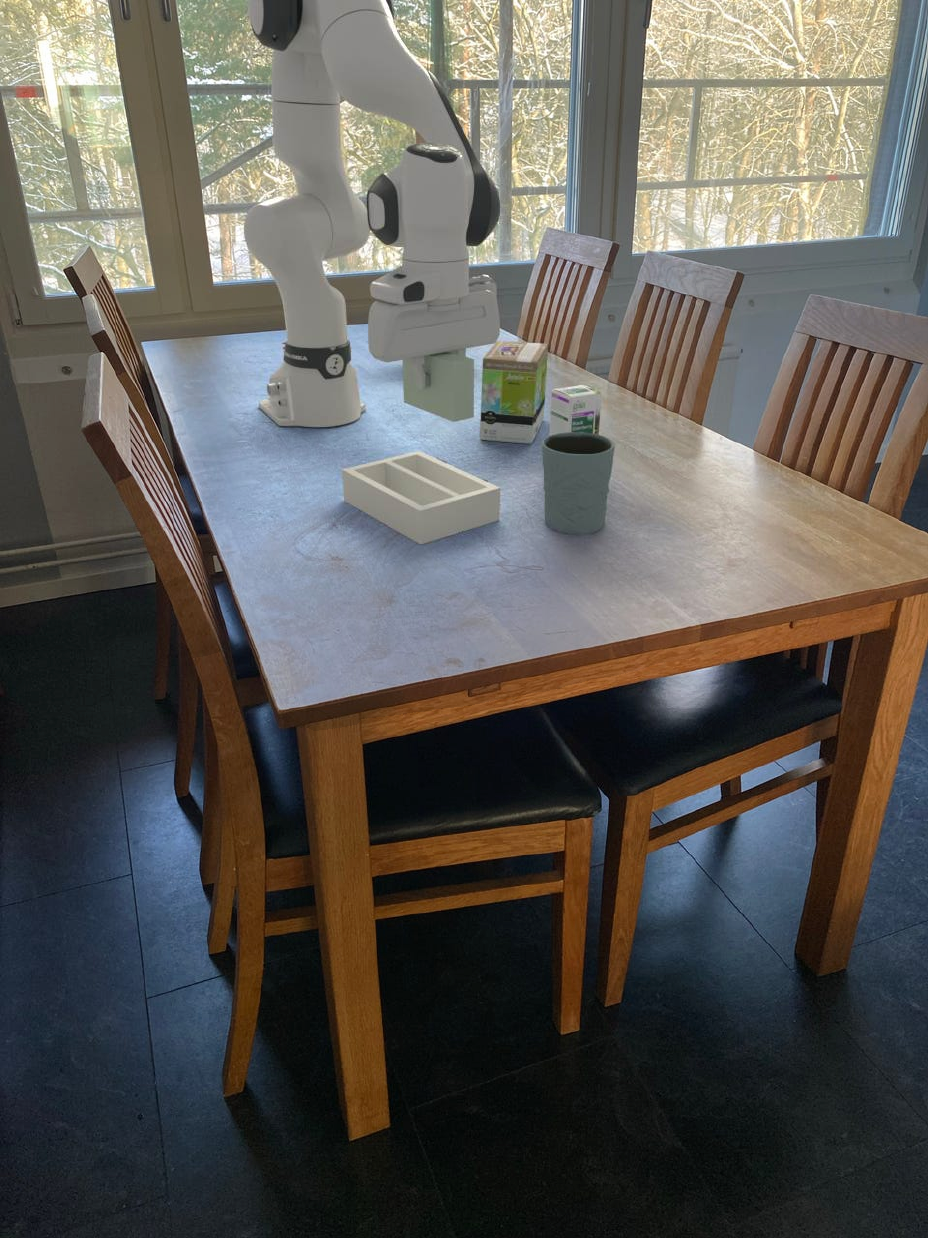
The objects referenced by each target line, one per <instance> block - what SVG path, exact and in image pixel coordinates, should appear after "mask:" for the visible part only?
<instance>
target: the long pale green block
mask: <svg viewBox="0 0 928 1238" xmlns="http://www.w3.org/2000/svg"><path fill="white" fill-rule="evenodd" d="M421 366H422V368H423V370H424V372H425V373H426V374H430V375H431V380H430V382H431V386H430V387H427V388H422V389H420V388H418V387H416V385H415V374H414V373H413V371H412V369H411V368H410V366H409V364H408V363H407V359H405V360H402V385H403V403H404V404H406V405H409V406H412V407H414V408H417V409H419V410H423V411H424V412H427V413H428V414H429V413H430V414H432V415H435V416H438V417H440V418H442V419H446V420H447V421H450V422H453V423H455V422H456V423H457V422H459V421H463V420H464V421H465V420H468V419H472V418H474V417H475V414H474V413H475V410H474V409H475V405H474V404H475V359H474V358H471V357H468V356H466V357H465V356H462V355H458V354H455V353H452V352H444V353H438V354H432V355H427V356H424V364H421Z"/></svg>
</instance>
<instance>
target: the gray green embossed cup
mask: <svg viewBox="0 0 928 1238" xmlns="http://www.w3.org/2000/svg"><path fill="white" fill-rule="evenodd" d="M615 448H616V443H615V442H614V441H613V440H611V439H610V438H609V437H608V436H607V437H606V436H604V435H600V434H599V435H597V434H591V433H582V432H568V433H559V434H554V435H551V436H547V437H544V439H543V440H542V441H541V454H542V455H541V456H542V457H541V458H542V468H543V491H544V495H543V496H544V523H545V525H546V527H547V528H549V529H550V530H552V531H554V532H556V531H559V532H558V533H560V532H562V533H561V534H564V533H567V534H566V535H574V534H584V535H590V534H589V533H591V534H593V533H594V534H595V533H597V532H599V531H600V530H602V529H603V527H604V526H605V521H606V515H607V501H608V495H609V492H610V490H609V489H610V487H609V484H610V479H611V476H612V470H613V462H614V456H615Z"/></svg>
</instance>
